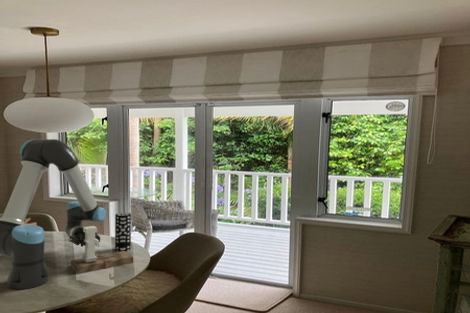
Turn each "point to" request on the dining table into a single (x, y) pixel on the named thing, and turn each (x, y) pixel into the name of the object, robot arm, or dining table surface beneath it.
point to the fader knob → (90, 238)
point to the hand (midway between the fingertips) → (93, 244)
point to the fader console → (102, 262)
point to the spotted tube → (122, 232)
